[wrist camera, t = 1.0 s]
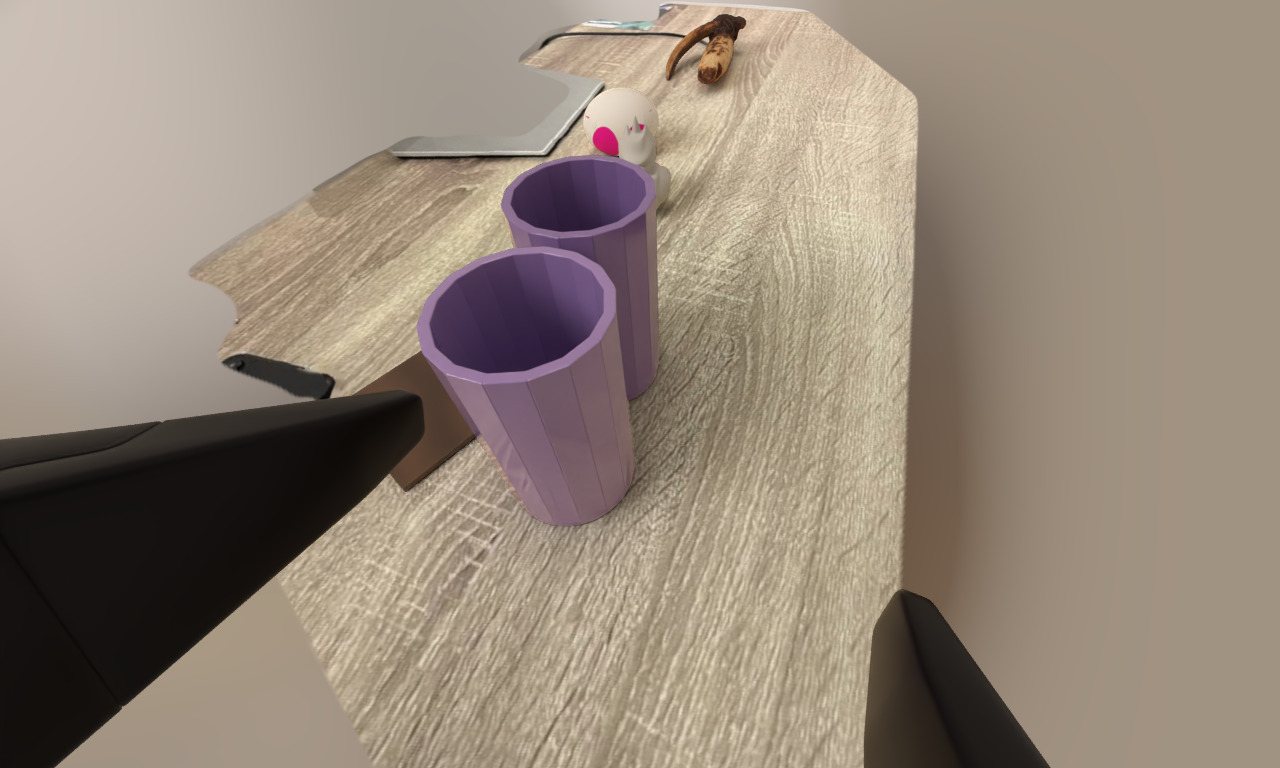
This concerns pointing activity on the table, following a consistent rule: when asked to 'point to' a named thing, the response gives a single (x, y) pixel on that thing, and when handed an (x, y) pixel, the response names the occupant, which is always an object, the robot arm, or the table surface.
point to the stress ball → (617, 117)
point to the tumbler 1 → (599, 239)
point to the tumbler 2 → (538, 376)
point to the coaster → (425, 419)
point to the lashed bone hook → (710, 47)
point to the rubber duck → (645, 157)
